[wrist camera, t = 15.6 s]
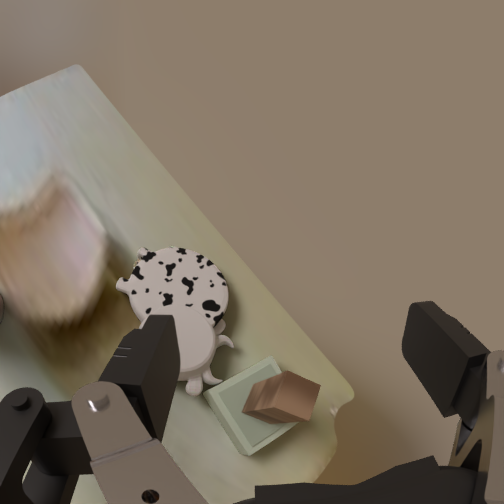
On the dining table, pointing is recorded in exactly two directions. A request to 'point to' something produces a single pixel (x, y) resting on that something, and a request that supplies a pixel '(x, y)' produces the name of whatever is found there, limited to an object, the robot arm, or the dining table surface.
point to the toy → (182, 306)
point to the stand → (231, 405)
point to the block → (282, 399)
